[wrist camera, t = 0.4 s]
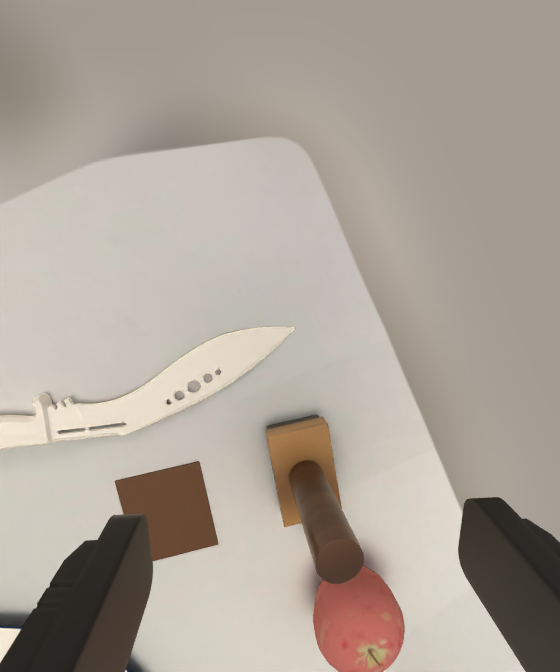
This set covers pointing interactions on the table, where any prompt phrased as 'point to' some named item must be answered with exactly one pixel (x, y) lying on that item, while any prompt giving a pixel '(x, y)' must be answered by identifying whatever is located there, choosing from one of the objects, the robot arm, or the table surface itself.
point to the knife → (146, 392)
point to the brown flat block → (171, 509)
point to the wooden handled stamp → (313, 495)
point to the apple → (358, 623)
